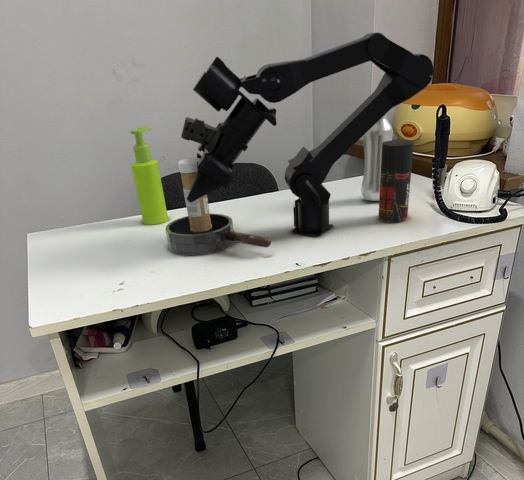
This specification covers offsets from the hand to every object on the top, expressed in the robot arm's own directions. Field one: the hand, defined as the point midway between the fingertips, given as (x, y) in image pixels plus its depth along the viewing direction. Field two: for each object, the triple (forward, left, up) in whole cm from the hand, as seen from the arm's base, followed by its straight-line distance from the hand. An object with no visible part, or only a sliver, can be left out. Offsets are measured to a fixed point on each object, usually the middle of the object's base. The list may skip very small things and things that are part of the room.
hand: (188, 197), depth 94 cm
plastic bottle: (-21, -40, -10) cm, 46 cm away
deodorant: (-30, -29, -10) cm, 43 cm away
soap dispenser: (+20, -8, -10) cm, 24 cm away
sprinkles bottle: (-1, -1, -7) cm, 7 cm away
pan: (-1, -1, -9) cm, 9 cm away
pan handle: (-13, -1, -8) cm, 15 cm away
